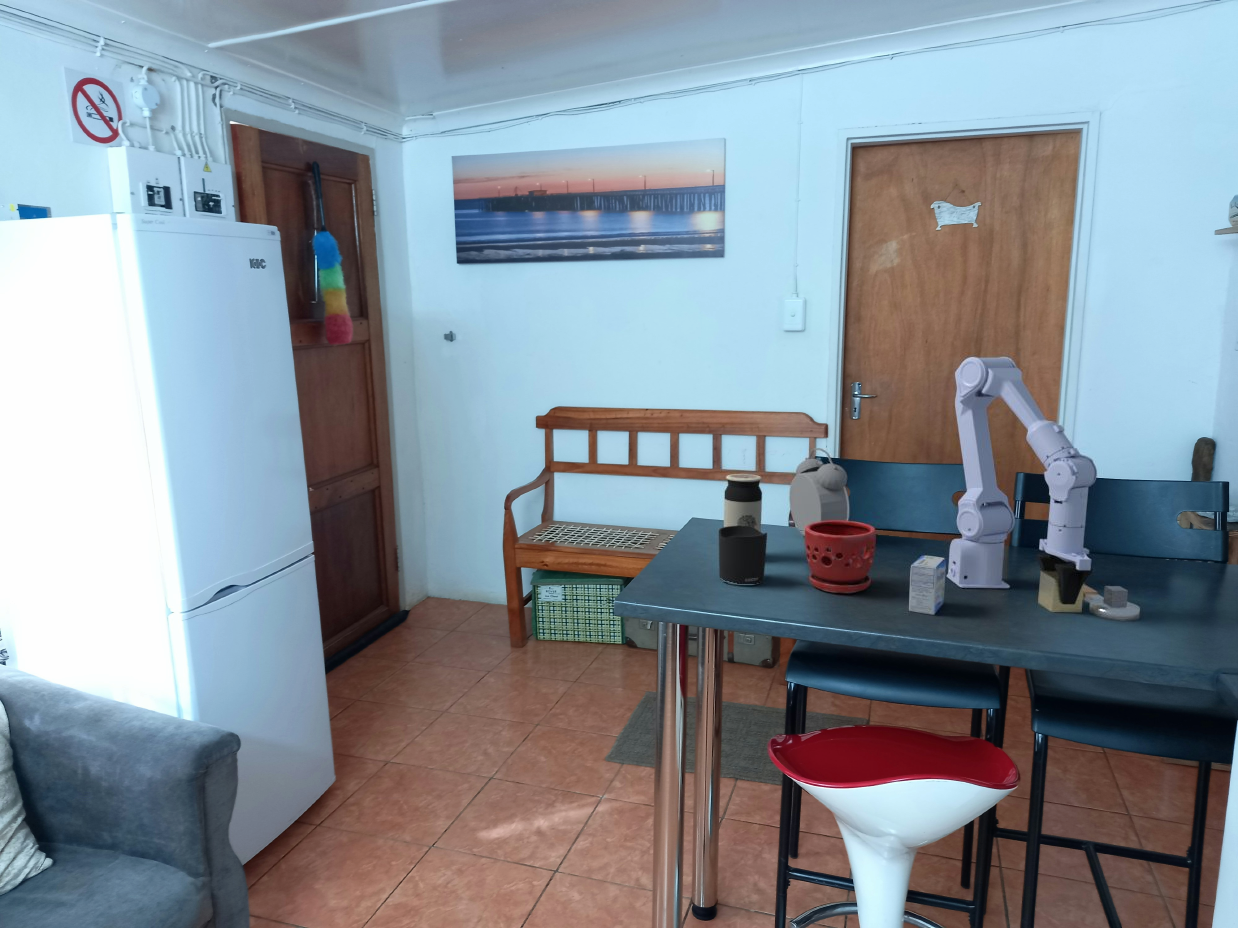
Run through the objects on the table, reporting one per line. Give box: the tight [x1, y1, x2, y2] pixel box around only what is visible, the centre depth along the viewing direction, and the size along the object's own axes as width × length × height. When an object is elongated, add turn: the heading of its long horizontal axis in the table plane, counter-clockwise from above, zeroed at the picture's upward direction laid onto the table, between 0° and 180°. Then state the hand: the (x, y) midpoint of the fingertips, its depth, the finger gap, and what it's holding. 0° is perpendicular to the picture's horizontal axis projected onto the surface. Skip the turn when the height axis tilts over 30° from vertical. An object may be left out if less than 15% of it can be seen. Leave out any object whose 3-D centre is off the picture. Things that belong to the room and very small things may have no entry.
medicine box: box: [908, 555, 947, 616], centre depth 152 cm, size 8×4×9 cm, turn 148°
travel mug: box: [723, 473, 763, 533], centre depth 185 cm, size 8×8×18 cm
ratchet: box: [1083, 584, 1141, 622], centre depth 155 cm, size 18×8×5 cm, turn 179°
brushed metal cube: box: [1037, 570, 1085, 613], centre depth 153 cm, size 5×5×6 cm
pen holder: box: [718, 526, 768, 584], centre depth 168 cm, size 9×9×10 cm
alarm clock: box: [788, 447, 850, 537], centre depth 202 cm, size 16×9×22 cm, turn 17°
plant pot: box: [804, 520, 877, 595], centre depth 164 cm, size 13×13×12 cm
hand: (1060, 598), depth 153 cm, fingers closed on brushed metal cube, 5 cm apart
